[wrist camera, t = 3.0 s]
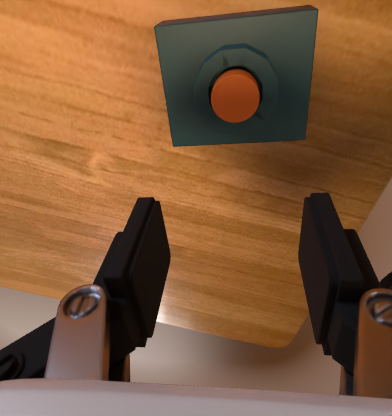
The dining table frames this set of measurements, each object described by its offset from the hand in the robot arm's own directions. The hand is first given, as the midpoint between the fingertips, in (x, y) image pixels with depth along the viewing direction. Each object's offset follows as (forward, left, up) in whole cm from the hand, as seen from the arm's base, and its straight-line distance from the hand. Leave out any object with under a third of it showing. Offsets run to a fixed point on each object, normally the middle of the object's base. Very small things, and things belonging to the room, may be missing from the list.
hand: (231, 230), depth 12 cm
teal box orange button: (0, 0, -21) cm, 21 cm away
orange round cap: (0, 0, -17) cm, 17 cm away
